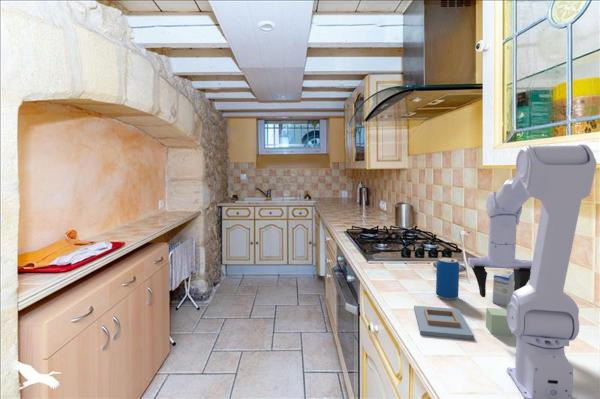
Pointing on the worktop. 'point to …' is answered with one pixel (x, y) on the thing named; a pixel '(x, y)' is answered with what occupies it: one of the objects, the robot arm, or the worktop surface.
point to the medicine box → (503, 287)
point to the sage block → (497, 322)
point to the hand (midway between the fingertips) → (499, 296)
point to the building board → (442, 322)
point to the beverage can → (447, 278)
